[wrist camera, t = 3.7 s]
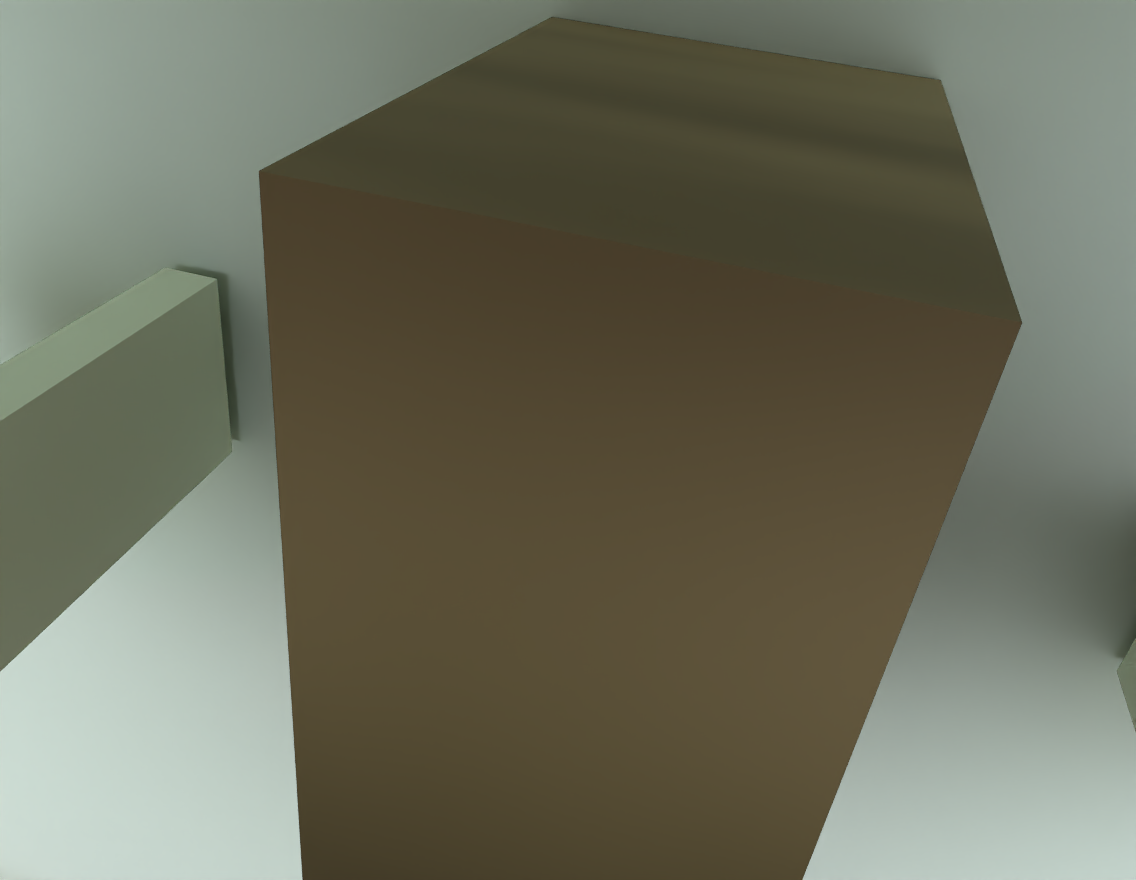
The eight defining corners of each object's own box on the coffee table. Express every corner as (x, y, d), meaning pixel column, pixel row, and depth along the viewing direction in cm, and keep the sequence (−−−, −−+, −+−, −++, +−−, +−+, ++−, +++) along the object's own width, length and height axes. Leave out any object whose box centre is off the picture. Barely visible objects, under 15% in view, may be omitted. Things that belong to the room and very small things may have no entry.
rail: (551, 17, 10) (259, 170, 5) (940, 80, 10) (1022, 322, 5) (472, 868, 18) (325, 1249, 13) (683, 932, 18) (612, 1360, 13)
